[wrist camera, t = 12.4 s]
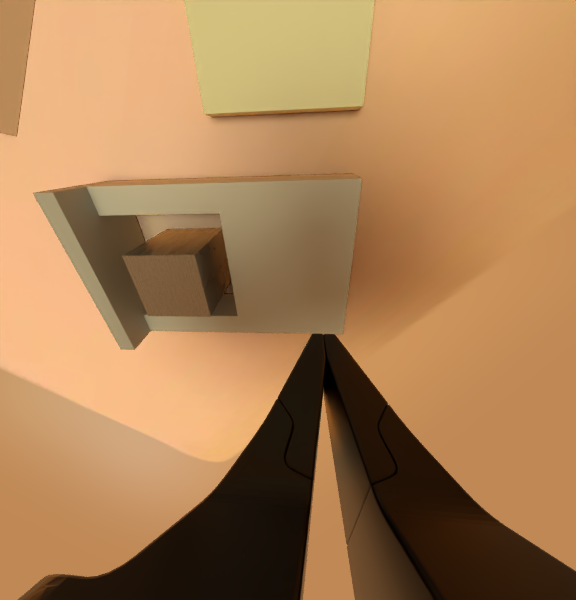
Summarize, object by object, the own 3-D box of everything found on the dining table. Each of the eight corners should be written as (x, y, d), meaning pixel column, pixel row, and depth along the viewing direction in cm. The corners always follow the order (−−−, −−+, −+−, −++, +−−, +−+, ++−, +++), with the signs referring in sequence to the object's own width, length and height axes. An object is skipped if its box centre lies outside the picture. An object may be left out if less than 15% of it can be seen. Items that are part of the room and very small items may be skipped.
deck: (352, 173, 14) (371, 183, 10) (338, 310, 20) (347, 354, 15) (108, 180, 15) (32, 193, 11) (158, 308, 21) (121, 349, 16)
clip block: (194, 255, 12) (121, 255, 13) (210, 316, 14) (148, 316, 15) (222, 227, 17) (167, 228, 17) (231, 278, 19) (182, 279, 19)
